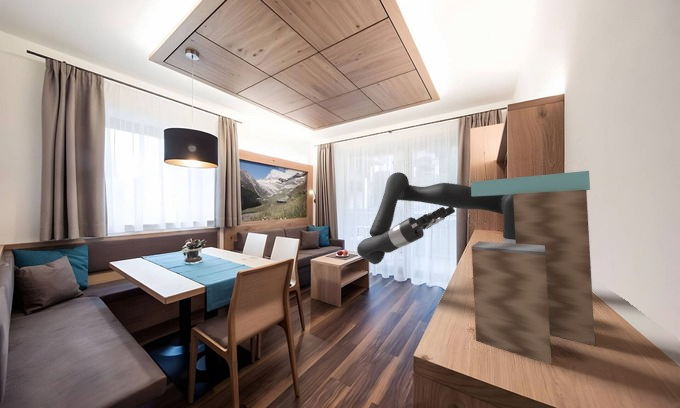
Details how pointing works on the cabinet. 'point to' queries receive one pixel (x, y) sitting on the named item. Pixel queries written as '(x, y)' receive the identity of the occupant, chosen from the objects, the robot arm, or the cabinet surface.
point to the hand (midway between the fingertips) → (449, 209)
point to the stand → (561, 257)
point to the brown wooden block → (512, 298)
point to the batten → (532, 184)
